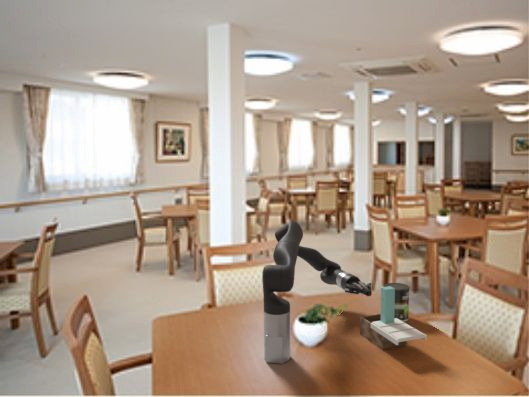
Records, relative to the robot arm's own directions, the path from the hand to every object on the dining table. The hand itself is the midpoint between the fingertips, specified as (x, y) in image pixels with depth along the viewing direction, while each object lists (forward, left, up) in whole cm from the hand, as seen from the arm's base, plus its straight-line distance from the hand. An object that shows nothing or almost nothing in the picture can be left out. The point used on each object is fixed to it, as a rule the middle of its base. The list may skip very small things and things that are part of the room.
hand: (369, 293), depth 183 cm
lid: (-15, -10, -10) cm, 20 cm away
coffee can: (+18, -11, -16) cm, 26 cm away
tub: (-7, -5, -16) cm, 18 cm away
